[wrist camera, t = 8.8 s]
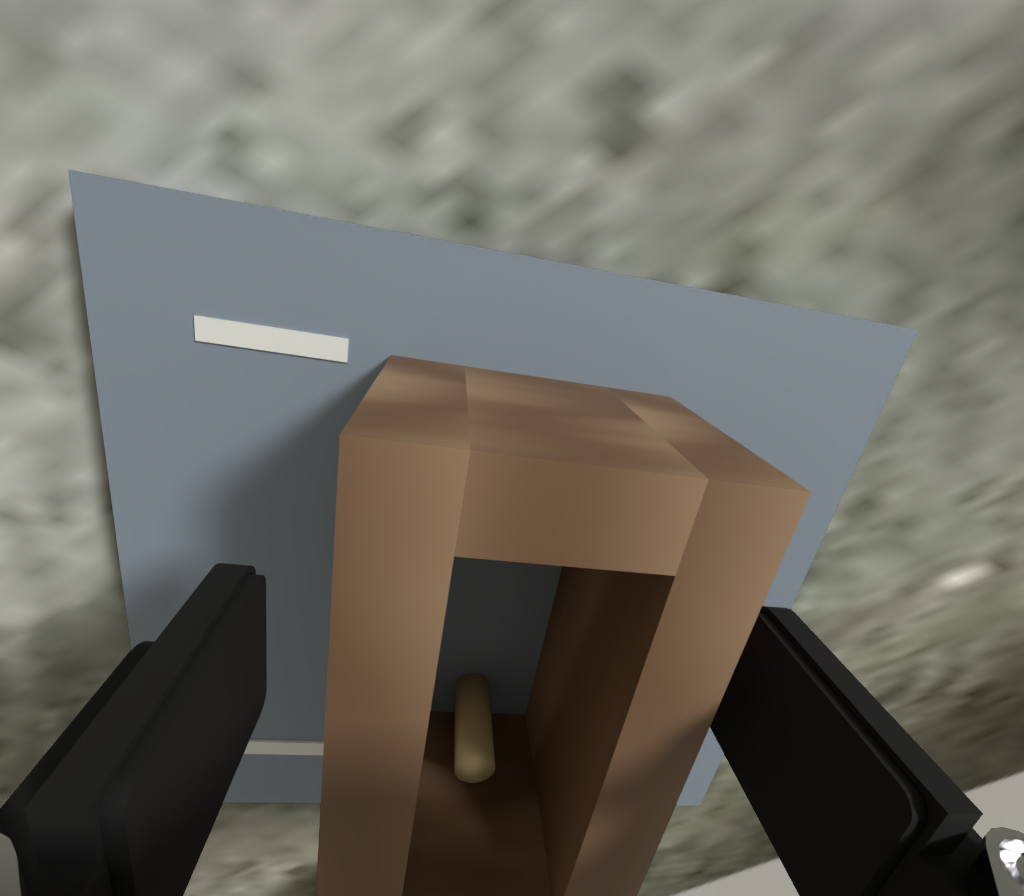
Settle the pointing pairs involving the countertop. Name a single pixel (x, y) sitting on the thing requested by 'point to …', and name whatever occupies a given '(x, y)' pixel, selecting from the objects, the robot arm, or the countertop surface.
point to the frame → (569, 635)
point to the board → (343, 384)
